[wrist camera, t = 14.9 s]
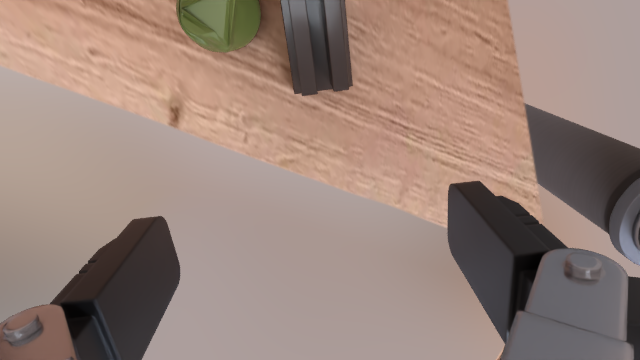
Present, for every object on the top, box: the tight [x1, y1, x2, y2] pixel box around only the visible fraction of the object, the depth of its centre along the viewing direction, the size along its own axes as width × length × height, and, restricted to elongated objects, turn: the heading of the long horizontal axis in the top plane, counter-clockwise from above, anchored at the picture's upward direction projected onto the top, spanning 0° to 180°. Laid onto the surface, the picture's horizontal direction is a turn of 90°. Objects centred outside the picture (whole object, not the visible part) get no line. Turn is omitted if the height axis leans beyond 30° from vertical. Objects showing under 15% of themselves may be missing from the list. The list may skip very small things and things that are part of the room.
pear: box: [176, 0, 261, 52], centre depth 27 cm, size 6×5×10 cm
